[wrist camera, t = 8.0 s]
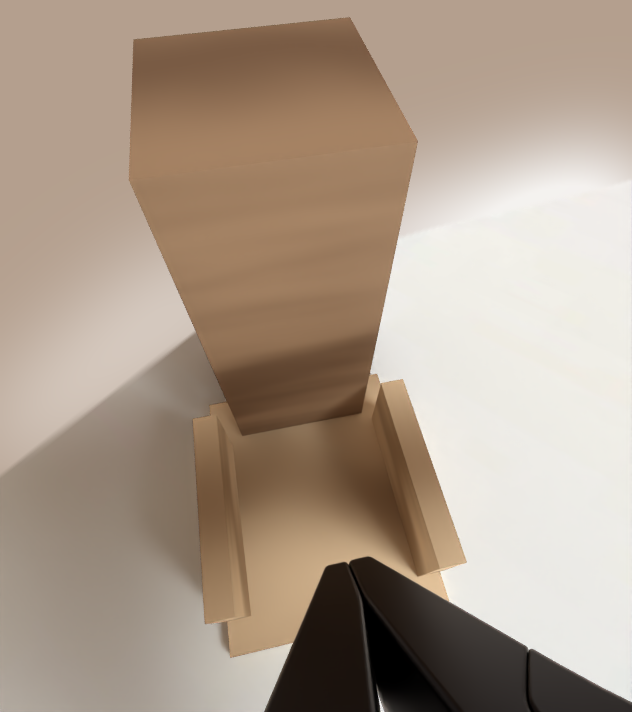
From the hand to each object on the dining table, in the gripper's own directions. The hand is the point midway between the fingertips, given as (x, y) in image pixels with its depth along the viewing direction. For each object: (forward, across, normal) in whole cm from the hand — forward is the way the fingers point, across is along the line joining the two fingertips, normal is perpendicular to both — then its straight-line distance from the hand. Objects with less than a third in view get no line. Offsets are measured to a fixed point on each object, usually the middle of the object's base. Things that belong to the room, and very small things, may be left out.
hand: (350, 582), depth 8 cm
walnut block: (+12, 0, 0) cm, 12 cm away
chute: (+8, 0, -3) cm, 9 cm away
